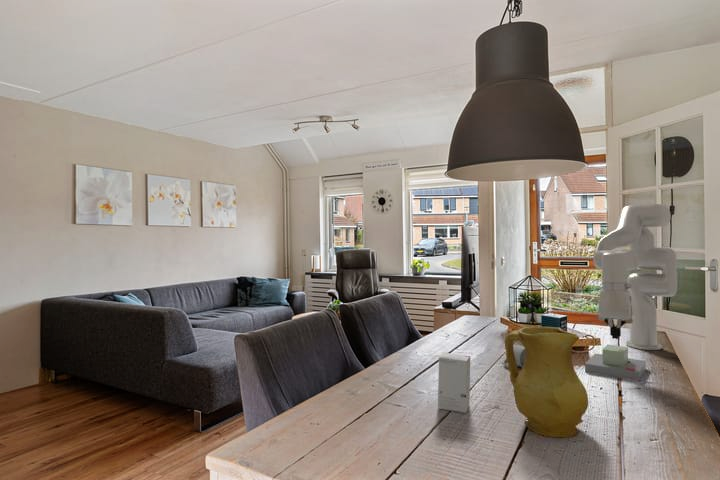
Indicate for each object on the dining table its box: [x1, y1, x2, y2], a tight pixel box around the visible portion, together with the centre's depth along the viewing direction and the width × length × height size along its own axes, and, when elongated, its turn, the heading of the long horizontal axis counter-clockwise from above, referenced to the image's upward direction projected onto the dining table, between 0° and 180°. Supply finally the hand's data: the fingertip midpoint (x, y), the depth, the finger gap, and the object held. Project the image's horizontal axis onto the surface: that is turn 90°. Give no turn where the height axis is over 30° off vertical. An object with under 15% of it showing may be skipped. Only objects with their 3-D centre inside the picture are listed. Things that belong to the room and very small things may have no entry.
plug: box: [602, 344, 629, 367], centre depth 149 cm, size 8×7×8 cm
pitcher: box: [504, 325, 589, 438], centre depth 108 cm, size 17×19×25 cm
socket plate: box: [584, 353, 647, 382], centre depth 149 cm, size 16×16×4 cm
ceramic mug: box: [502, 344, 526, 369], centre depth 156 cm, size 11×8×8 cm
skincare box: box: [437, 352, 471, 414], centre depth 120 cm, size 8×6×15 cm
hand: (615, 337), depth 150 cm, fingers closed
